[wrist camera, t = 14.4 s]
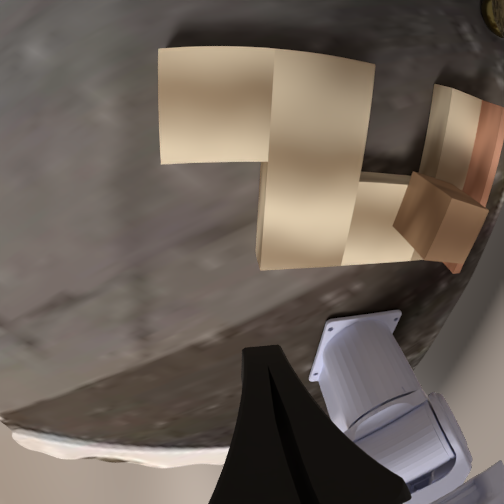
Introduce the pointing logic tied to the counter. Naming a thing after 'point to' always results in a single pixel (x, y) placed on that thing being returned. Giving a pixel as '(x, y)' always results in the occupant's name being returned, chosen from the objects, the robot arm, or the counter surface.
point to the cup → (494, 16)
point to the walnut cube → (439, 219)
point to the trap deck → (315, 147)
